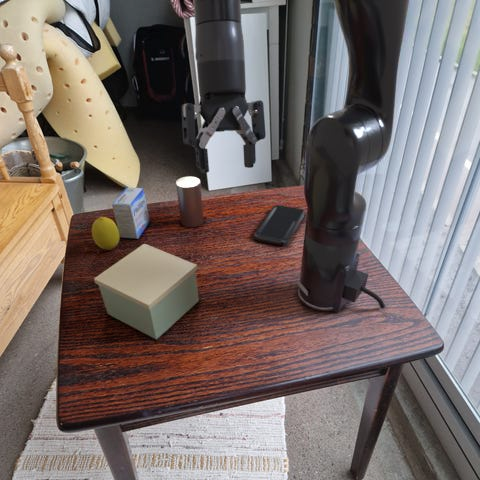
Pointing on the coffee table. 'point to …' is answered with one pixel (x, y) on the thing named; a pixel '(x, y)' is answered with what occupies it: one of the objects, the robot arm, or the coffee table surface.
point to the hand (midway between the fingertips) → (227, 169)
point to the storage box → (149, 289)
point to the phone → (279, 225)
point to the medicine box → (131, 212)
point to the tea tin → (190, 201)
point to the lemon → (105, 233)
